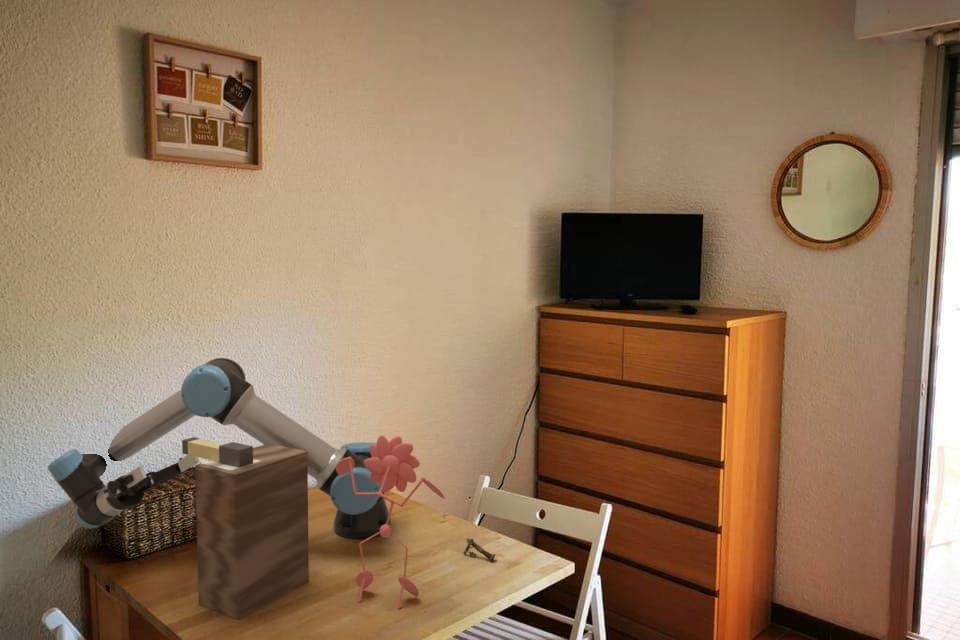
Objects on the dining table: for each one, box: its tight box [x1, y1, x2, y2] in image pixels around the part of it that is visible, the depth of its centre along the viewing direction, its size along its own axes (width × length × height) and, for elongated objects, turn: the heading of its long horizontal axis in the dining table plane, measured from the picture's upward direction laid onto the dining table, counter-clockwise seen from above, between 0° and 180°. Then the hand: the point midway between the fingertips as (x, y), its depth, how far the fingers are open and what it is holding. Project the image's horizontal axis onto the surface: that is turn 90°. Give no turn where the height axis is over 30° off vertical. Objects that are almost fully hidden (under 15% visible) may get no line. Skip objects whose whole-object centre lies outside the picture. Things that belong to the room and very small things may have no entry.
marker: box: [181, 436, 254, 468], centre depth 155 cm, size 18×4×4 cm, turn 59°
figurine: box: [336, 434, 445, 614], centre depth 160 cm, size 15×26×35 cm, turn 72°
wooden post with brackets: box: [463, 538, 496, 563], centre depth 179 cm, size 2×8×4 cm, turn 64°
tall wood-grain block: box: [194, 443, 310, 620], centre depth 158 cm, size 12×20×30 cm, turn 149°
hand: (170, 463), depth 163 cm, fingers open, 13 cm apart
